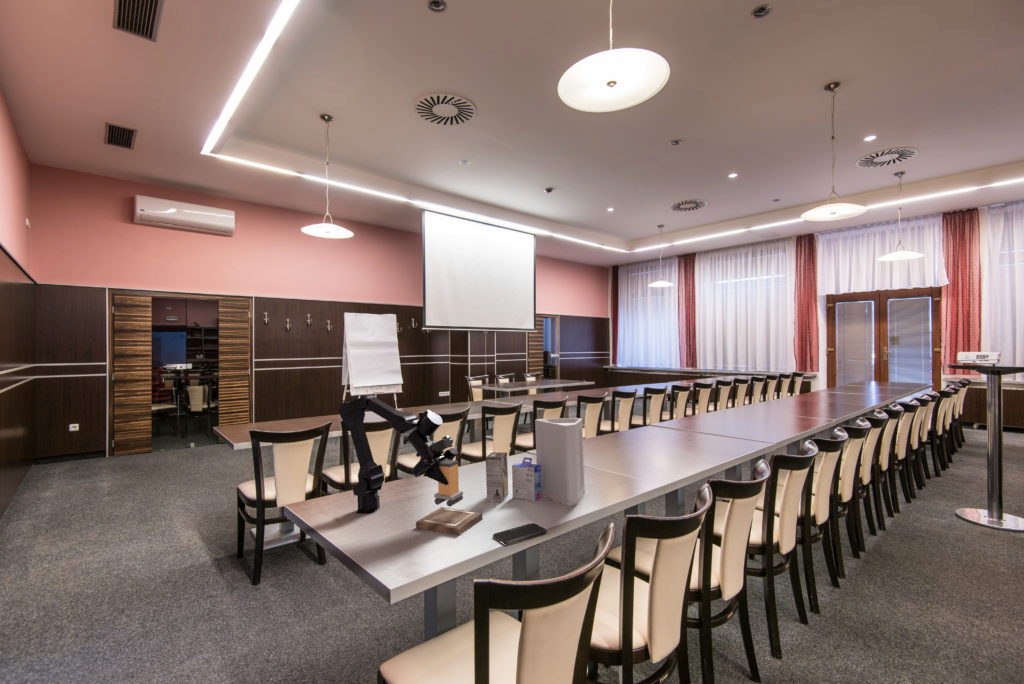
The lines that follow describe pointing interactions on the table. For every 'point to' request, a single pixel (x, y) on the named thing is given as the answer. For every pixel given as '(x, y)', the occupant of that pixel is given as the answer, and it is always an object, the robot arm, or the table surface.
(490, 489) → the coffee box
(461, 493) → the grey-topped tan box
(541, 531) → the phone
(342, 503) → the table surface
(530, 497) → the ink cartridge box
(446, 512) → the dock
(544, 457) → the white triangular vase
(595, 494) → the table surface
